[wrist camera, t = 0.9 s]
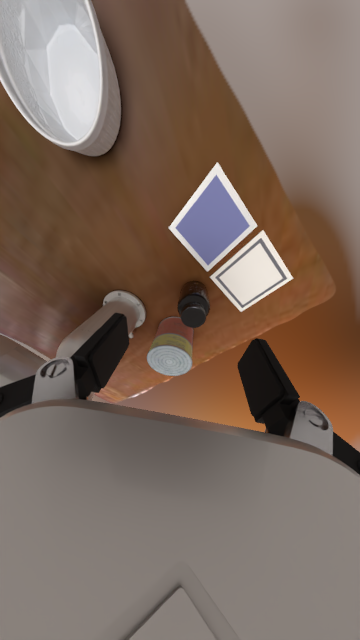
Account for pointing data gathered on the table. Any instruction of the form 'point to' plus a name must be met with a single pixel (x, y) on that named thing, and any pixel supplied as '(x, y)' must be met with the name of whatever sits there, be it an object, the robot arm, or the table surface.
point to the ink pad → (213, 220)
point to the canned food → (171, 348)
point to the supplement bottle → (193, 304)
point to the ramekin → (60, 72)
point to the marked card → (252, 273)
